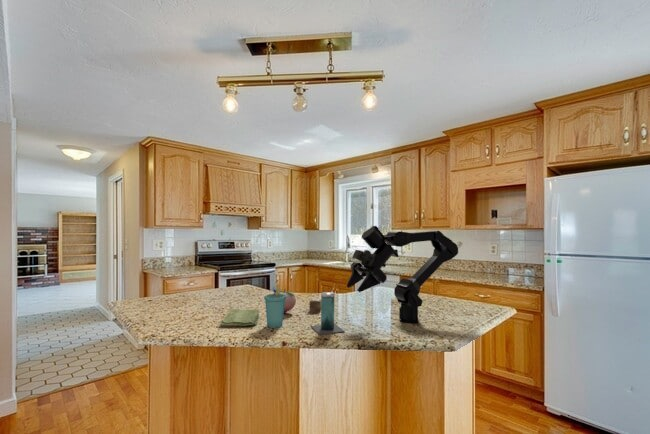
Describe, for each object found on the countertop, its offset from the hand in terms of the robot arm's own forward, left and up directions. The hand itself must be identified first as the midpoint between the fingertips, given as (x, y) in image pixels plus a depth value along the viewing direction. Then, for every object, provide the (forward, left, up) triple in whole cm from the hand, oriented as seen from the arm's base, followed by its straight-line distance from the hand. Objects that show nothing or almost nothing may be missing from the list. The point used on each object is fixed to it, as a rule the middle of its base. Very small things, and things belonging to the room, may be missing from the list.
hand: (352, 289), depth 116 cm
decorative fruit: (+31, -10, -14) cm, 35 cm away
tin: (+8, +6, -13) cm, 16 cm away
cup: (+27, +8, -14) cm, 31 cm away
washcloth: (+42, +4, -14) cm, 44 cm away
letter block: (+20, -18, -14) cm, 30 cm away
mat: (+8, +6, -13) cm, 16 cm away
